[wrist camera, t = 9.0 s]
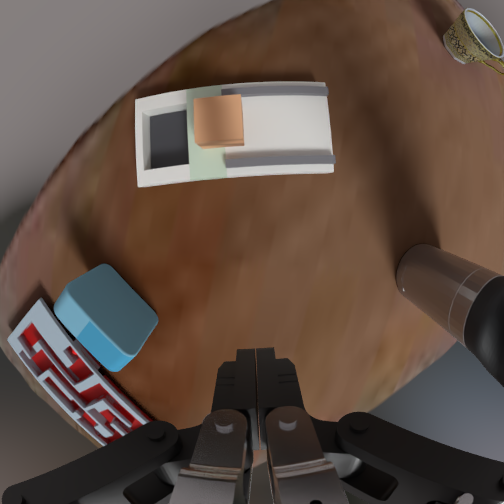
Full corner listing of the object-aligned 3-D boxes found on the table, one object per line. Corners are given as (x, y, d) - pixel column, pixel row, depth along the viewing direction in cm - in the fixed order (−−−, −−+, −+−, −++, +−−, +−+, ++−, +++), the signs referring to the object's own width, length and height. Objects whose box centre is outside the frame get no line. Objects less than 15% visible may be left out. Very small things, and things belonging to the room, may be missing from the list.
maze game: (168, 427, 46) (165, 438, 43) (115, 443, 48) (111, 452, 45) (49, 292, 40) (39, 299, 36) (15, 333, 42) (7, 339, 39)
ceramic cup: (426, 33, 29) (456, 11, 19) (449, 23, 27) (476, 5, 18) (469, 92, 31) (504, 80, 21) (487, 76, 30) (518, 65, 20)
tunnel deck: (319, 89, 32) (326, 79, 29) (327, 173, 35) (336, 171, 31) (143, 105, 33) (132, 97, 29) (146, 186, 35) (134, 187, 32)
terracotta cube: (242, 107, 30) (240, 94, 26) (244, 145, 32) (243, 138, 27) (201, 110, 30) (193, 98, 26) (203, 149, 32) (194, 142, 27)
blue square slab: (92, 278, 38) (48, 307, 27) (107, 260, 38) (61, 286, 26) (144, 333, 40) (114, 377, 29) (161, 317, 40) (133, 361, 28)
